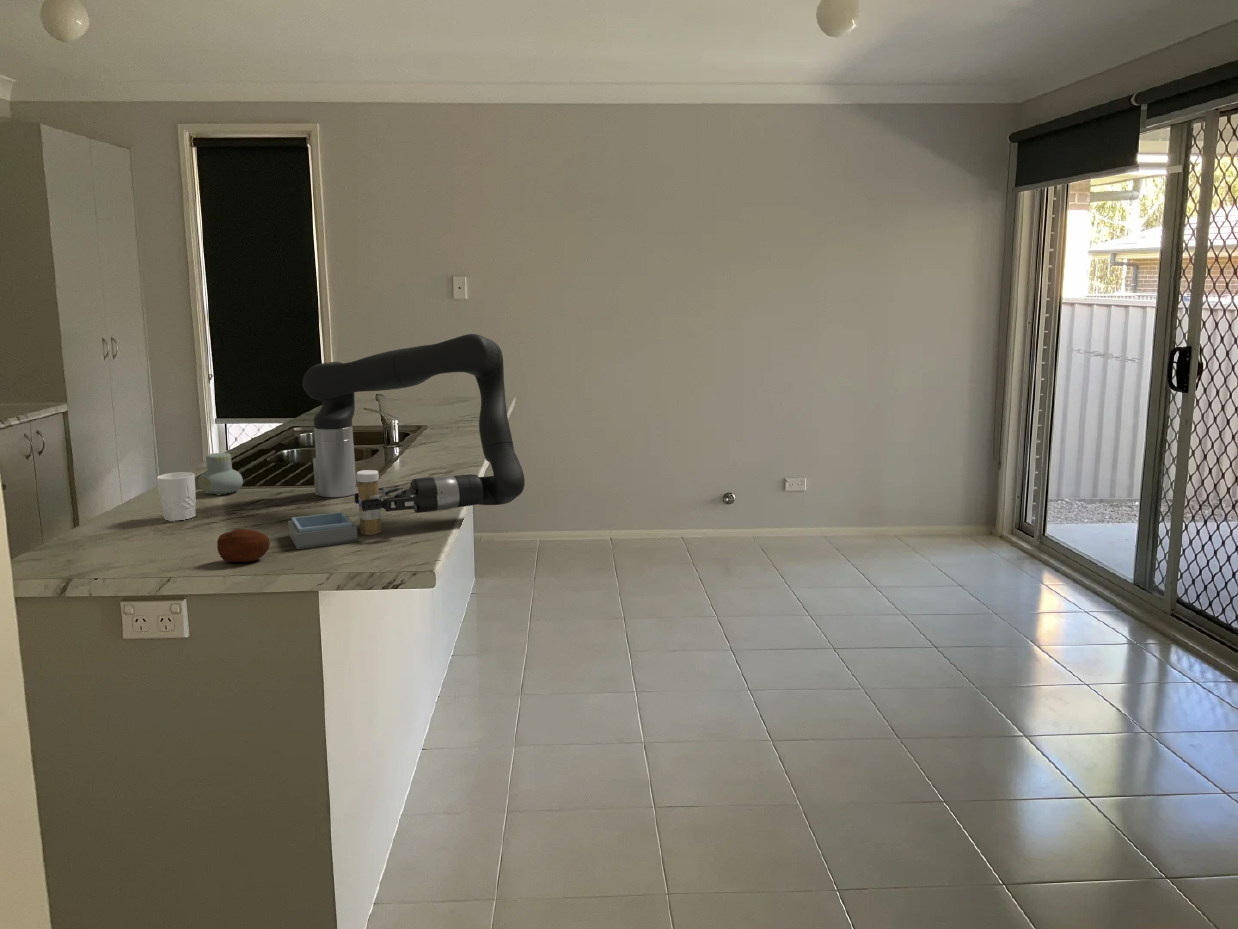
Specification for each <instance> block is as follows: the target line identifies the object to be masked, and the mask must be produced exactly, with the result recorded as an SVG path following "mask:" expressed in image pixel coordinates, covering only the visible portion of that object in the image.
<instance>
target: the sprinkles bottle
mask: <svg viewBox="0 0 1238 929" xmlns="http://www.w3.org/2000/svg"><path fill="white" fill-rule="evenodd" d="M355 474H356V484H357V489H358V490H357V491H358V492H357V493H359V504H358V512H359V514H358V515H359V516H358V517H359V527H360V530H359V532H360V533H359V534H361V535H363V536H372V535H378V534H379V533H380V534H381V533H382V528H381V527H382V526H381V508H380V509H376V510H368V511H363V510H362V509H361V501H362V500H367V499H377V498H379V497H380V493H379V488H380V487H379V480H380V478H379V477H380V476H379V471H378V470H375V469H365V470H359V471H356V472H355ZM379 500H380V499H379Z"/></svg>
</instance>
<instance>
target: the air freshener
mask: <svg viewBox="0 0 1238 929" xmlns="http://www.w3.org/2000/svg"><path fill="white" fill-rule="evenodd" d="M205 460H206V461H205V462H206V471H205V472H204V473H202V474H201V475H200V476H199V477H198V482H197V483H198V486H199V487H200V489H201V491H202V492H203V493H206V494H207V495H209V494H224V495H228V494H227V493H229V494H232V493H235V492H236V491H238V490H240V488H242V486H243V484H244V479H243V476H242V474H241V473H240V472H239V471H237V470H235V469H233V466H232V465H233V464H232V455H231V454H230V453H229V452H217V453H210V454H207V455H206V456H205ZM231 492H232V493H231Z"/></svg>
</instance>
